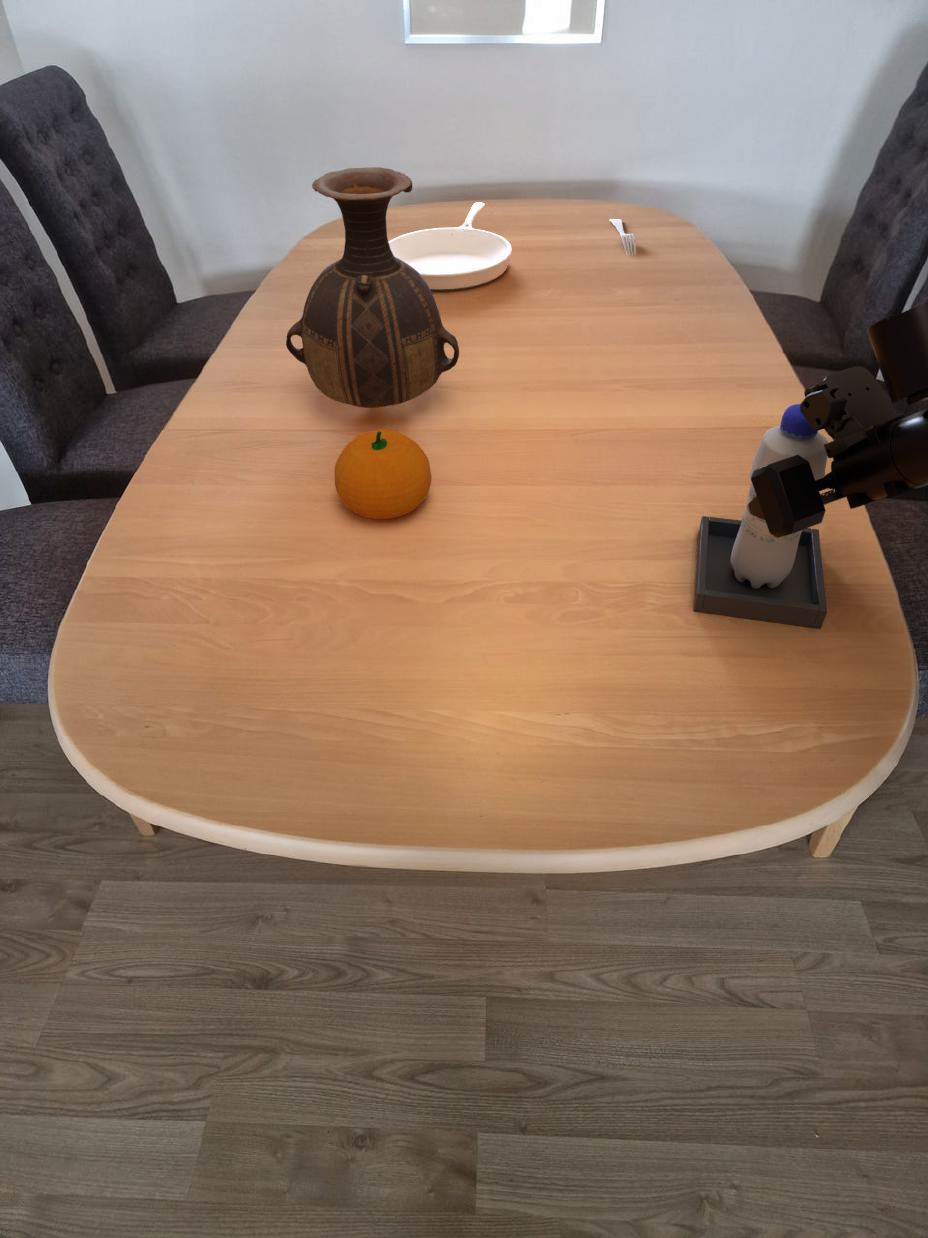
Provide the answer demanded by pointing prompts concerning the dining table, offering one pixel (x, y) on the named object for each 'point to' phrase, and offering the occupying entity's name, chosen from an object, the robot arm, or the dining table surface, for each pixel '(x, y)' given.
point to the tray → (786, 603)
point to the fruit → (382, 474)
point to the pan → (454, 254)
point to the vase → (370, 305)
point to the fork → (625, 236)
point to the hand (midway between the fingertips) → (787, 495)
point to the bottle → (754, 544)
